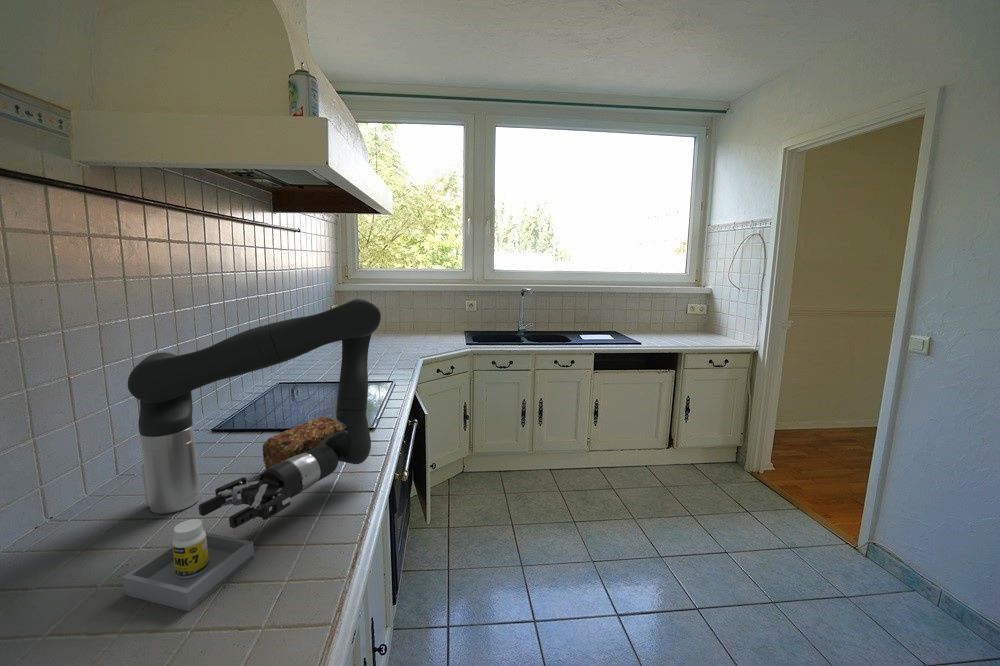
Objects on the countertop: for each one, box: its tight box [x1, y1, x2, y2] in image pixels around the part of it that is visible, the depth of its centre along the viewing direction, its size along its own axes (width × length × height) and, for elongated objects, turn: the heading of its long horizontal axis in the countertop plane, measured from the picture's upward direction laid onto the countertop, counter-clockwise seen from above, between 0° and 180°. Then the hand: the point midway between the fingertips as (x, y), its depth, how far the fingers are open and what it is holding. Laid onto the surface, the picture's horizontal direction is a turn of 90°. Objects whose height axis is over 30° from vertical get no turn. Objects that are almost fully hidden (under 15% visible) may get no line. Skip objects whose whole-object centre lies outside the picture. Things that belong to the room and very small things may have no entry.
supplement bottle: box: [171, 518, 209, 579], centre depth 77 cm, size 5×5×8 cm
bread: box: [262, 416, 347, 470], centre depth 119 cm, size 19×11×10 cm, turn 151°
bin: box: [121, 531, 255, 612], centre depth 77 cm, size 13×13×3 cm
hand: (215, 517), depth 80 cm, fingers open, 8 cm apart
